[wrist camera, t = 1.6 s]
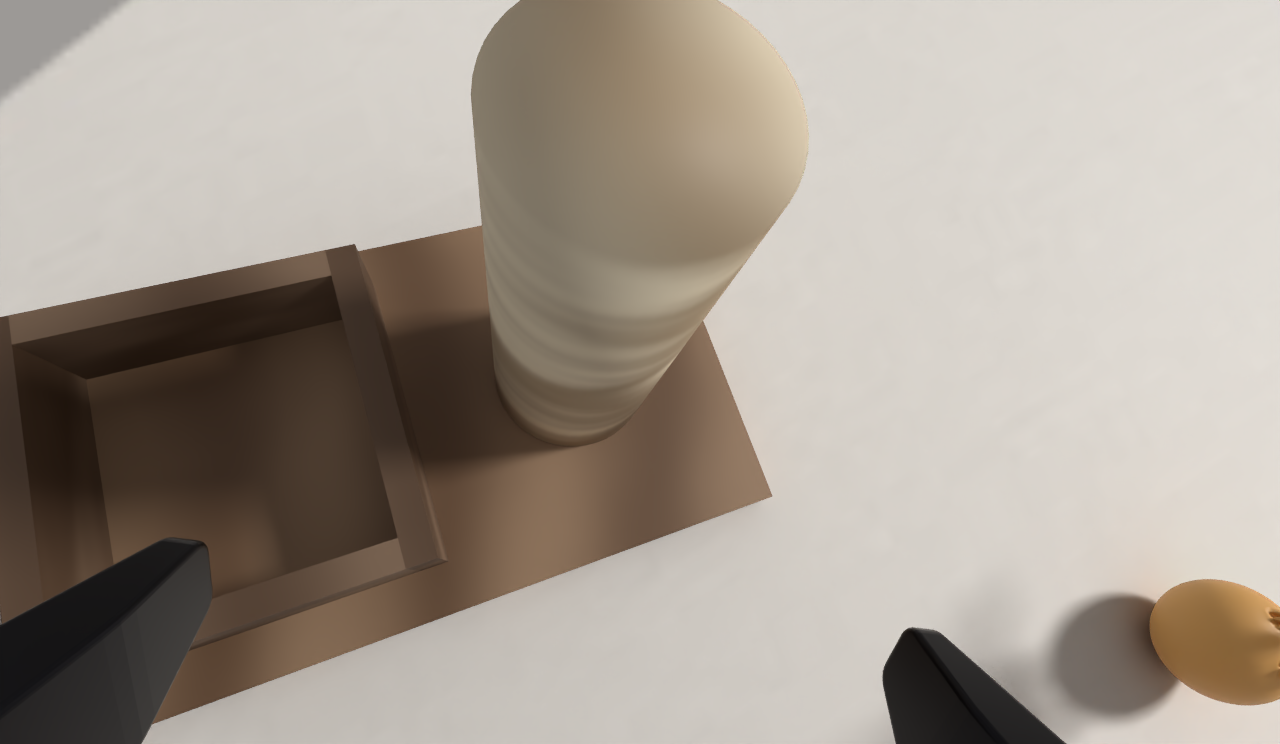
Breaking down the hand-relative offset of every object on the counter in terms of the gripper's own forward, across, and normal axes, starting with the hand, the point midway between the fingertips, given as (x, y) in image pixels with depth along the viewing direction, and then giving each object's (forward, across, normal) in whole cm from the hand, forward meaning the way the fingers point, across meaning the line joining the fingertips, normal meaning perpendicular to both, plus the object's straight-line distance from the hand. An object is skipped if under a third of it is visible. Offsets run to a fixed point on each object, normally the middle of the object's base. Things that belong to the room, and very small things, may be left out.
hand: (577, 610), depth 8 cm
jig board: (+13, +4, +6) cm, 15 cm away
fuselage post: (+13, 0, +3) cm, 14 cm away
